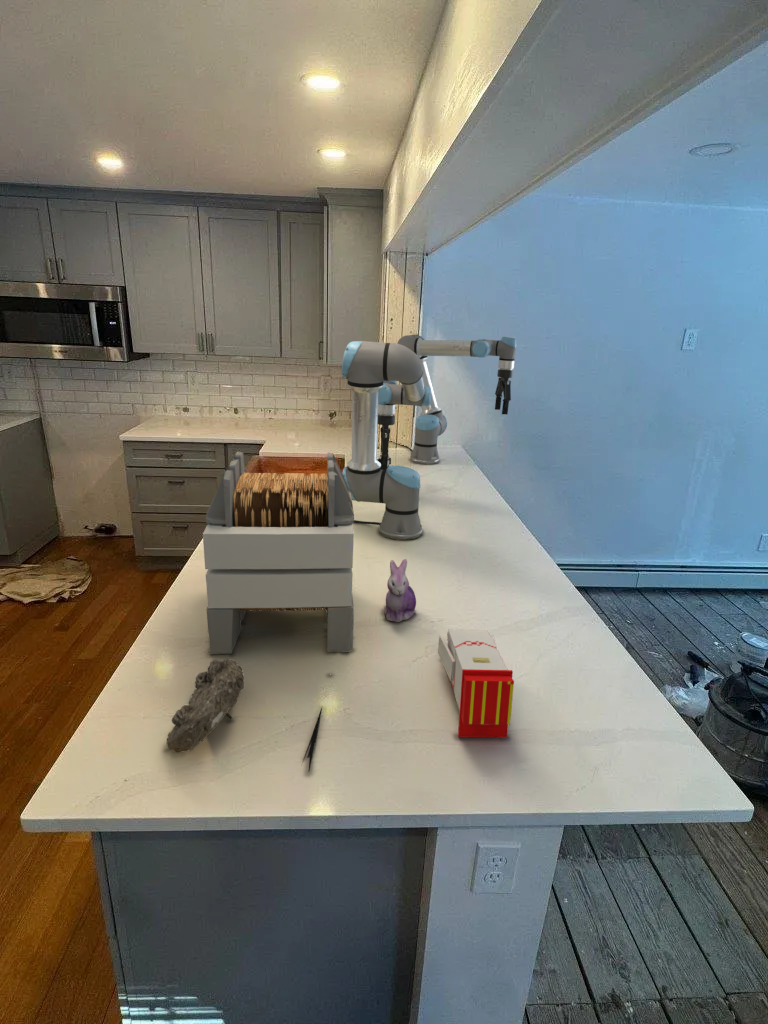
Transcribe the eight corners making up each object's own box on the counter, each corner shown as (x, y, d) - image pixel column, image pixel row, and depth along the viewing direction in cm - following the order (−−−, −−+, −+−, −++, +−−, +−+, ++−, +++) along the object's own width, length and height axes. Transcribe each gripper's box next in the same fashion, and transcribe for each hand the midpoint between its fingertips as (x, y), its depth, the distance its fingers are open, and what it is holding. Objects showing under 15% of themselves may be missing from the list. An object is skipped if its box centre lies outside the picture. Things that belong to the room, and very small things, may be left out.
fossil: (192, 660, 117) (244, 628, 112) (224, 691, 120) (276, 661, 115) (142, 746, 98) (202, 712, 93) (182, 779, 101) (242, 748, 96)
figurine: (392, 627, 141) (395, 572, 136) (374, 608, 149) (376, 556, 144) (425, 619, 145) (429, 566, 140) (405, 601, 154) (408, 550, 149)
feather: (331, 679, 122) (336, 673, 122) (307, 777, 96) (313, 769, 95) (324, 675, 122) (329, 669, 121) (298, 772, 95) (304, 764, 95)
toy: (488, 613, 130) (523, 677, 101) (484, 667, 133) (517, 744, 104) (435, 612, 130) (455, 676, 101) (432, 666, 133) (451, 743, 103)
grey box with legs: (229, 585, 158) (221, 442, 144) (346, 584, 161) (350, 444, 148) (206, 656, 126) (193, 481, 112) (353, 652, 130) (358, 483, 116)
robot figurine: (376, 472, 237) (377, 454, 234) (376, 469, 241) (376, 451, 239) (391, 472, 237) (391, 455, 235) (390, 469, 241) (391, 452, 239)
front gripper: (396, 418, 223) (393, 475, 231) (393, 411, 240) (391, 464, 247) (377, 418, 223) (375, 475, 230) (375, 410, 239) (373, 464, 247)
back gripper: (520, 372, 270) (515, 416, 277) (506, 366, 294) (501, 407, 301) (505, 371, 270) (500, 416, 277) (492, 366, 293) (487, 407, 300)
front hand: (383, 469), depth 239 cm, fingers closed on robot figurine, 5 cm apart
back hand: (500, 411), depth 289 cm, fingers open, 13 cm apart
